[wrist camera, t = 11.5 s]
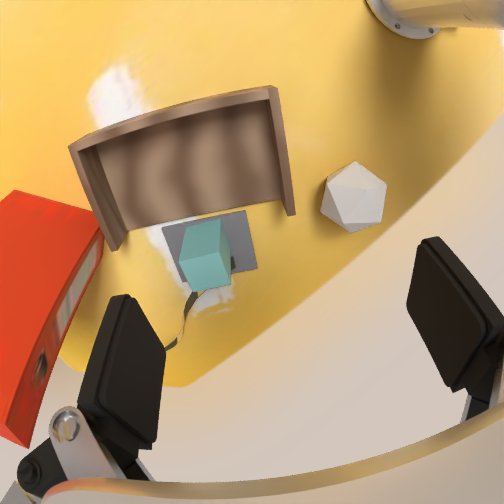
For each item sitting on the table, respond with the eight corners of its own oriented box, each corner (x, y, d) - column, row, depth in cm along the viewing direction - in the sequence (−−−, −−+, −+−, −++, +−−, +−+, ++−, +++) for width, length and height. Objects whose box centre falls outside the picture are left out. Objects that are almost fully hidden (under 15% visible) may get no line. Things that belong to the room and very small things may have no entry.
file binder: (102, 257, 44) (28, 450, 18) (17, 231, 40) (-83, 382, 13) (106, 214, 40) (3, 422, 14) (15, 189, 35) (-114, 340, 9)
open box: (270, 85, 32) (277, 88, 27) (287, 195, 40) (295, 214, 36) (87, 134, 33) (67, 146, 28) (123, 229, 42) (111, 251, 37)
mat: (245, 210, 41) (245, 211, 41) (257, 267, 47) (257, 268, 47) (162, 227, 42) (161, 228, 41) (182, 280, 48) (182, 282, 47)
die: (308, 211, 43) (356, 256, 38) (301, 174, 35) (361, 226, 31) (347, 178, 43) (395, 219, 39) (347, 139, 36) (406, 183, 31)
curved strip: (258, 268, 48) (261, 284, 45) (138, 367, 62) (136, 381, 59) (229, 248, 45) (230, 264, 42) (115, 357, 60) (112, 371, 56)
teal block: (220, 218, 41) (219, 252, 35) (230, 247, 44) (230, 284, 38) (186, 227, 42) (178, 261, 35) (197, 255, 44) (193, 292, 38)
